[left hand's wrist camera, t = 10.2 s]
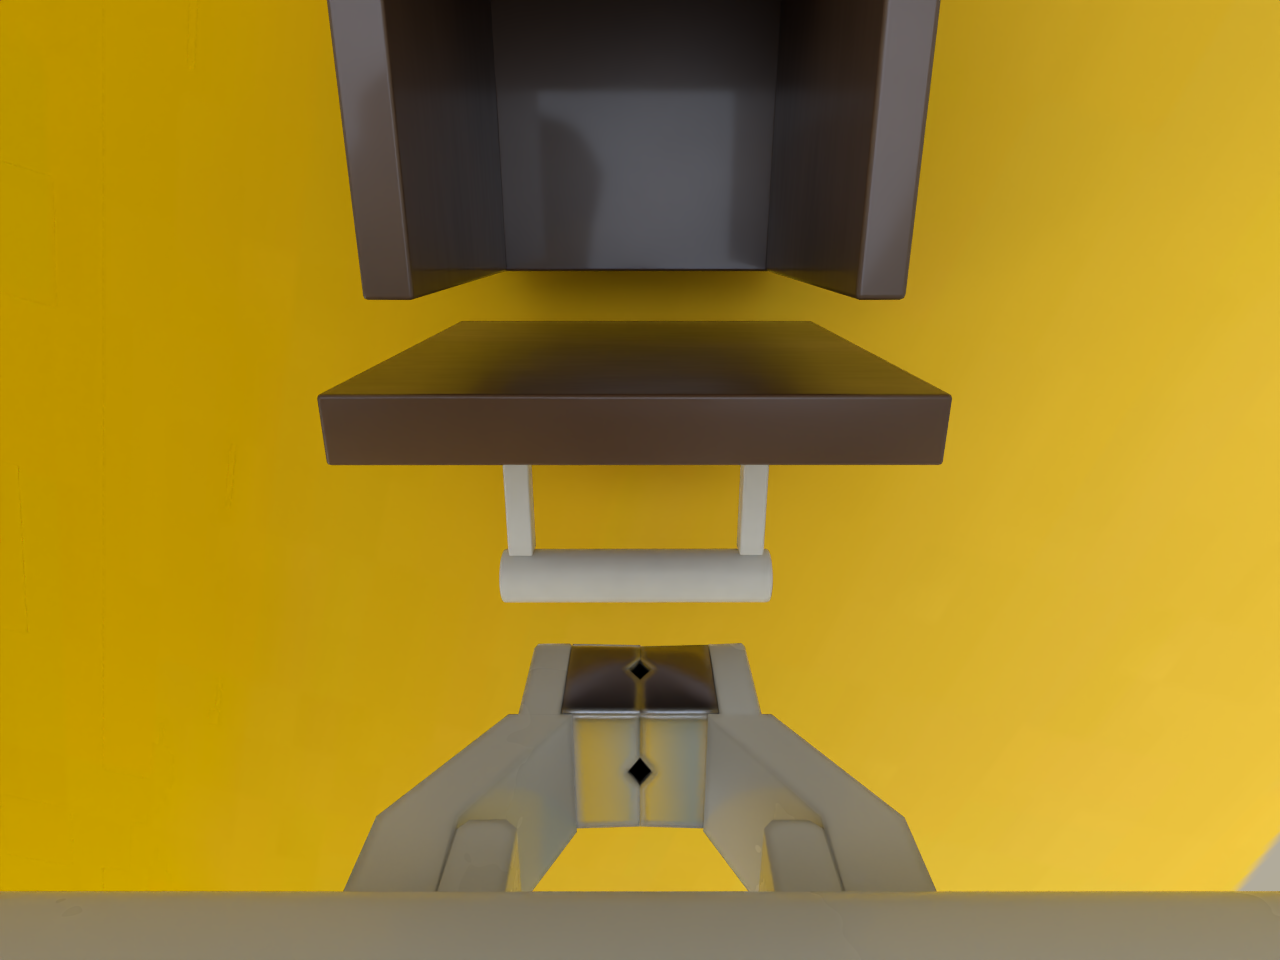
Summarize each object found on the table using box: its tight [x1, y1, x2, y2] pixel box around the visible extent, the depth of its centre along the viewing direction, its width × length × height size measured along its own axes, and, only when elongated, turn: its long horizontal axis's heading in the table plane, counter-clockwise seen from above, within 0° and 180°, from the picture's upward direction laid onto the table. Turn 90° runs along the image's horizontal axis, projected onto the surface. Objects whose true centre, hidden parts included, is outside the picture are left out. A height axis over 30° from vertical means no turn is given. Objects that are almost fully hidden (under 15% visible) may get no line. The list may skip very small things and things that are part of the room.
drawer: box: [317, 0, 952, 602], centre depth 14 cm, size 24×10×10 cm, turn 0°
